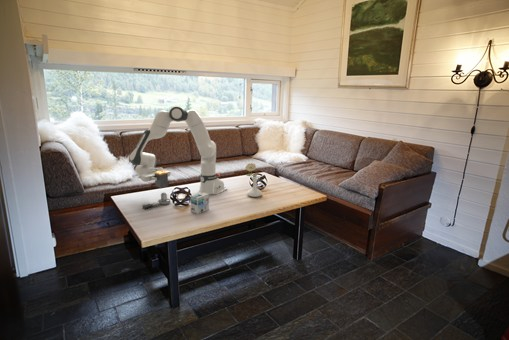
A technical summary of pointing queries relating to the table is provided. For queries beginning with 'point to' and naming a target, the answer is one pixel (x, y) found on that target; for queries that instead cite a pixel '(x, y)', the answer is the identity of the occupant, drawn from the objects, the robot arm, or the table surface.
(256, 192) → the flower in vase
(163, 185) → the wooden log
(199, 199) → the light bulb box
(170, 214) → the table surface
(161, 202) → the ratchet
